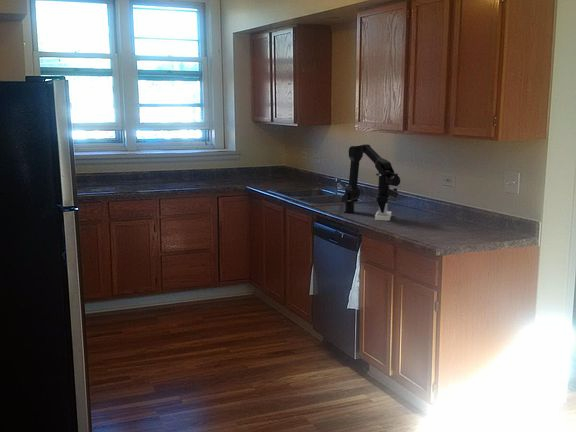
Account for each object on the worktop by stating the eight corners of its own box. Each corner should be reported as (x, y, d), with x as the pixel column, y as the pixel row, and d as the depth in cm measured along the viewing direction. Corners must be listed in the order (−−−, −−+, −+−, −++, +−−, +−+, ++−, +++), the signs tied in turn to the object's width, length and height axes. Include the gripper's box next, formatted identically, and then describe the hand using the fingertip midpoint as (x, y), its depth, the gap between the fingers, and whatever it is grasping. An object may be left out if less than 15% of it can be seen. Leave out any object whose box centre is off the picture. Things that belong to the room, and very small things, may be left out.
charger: (379, 215, 364) (379, 203, 363) (387, 216, 363) (387, 203, 362) (378, 217, 360) (378, 204, 359) (386, 217, 359) (386, 204, 358)
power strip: (377, 215, 374) (377, 209, 374) (391, 215, 373) (391, 210, 372) (374, 220, 359) (375, 214, 358) (389, 220, 357) (389, 215, 357)
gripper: (397, 186, 348) (396, 215, 350) (399, 182, 366) (398, 210, 368) (376, 186, 350) (375, 214, 353) (379, 182, 368) (378, 209, 371)
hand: (382, 212), depth 361 cm, fingers closed on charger, 4 cm apart
